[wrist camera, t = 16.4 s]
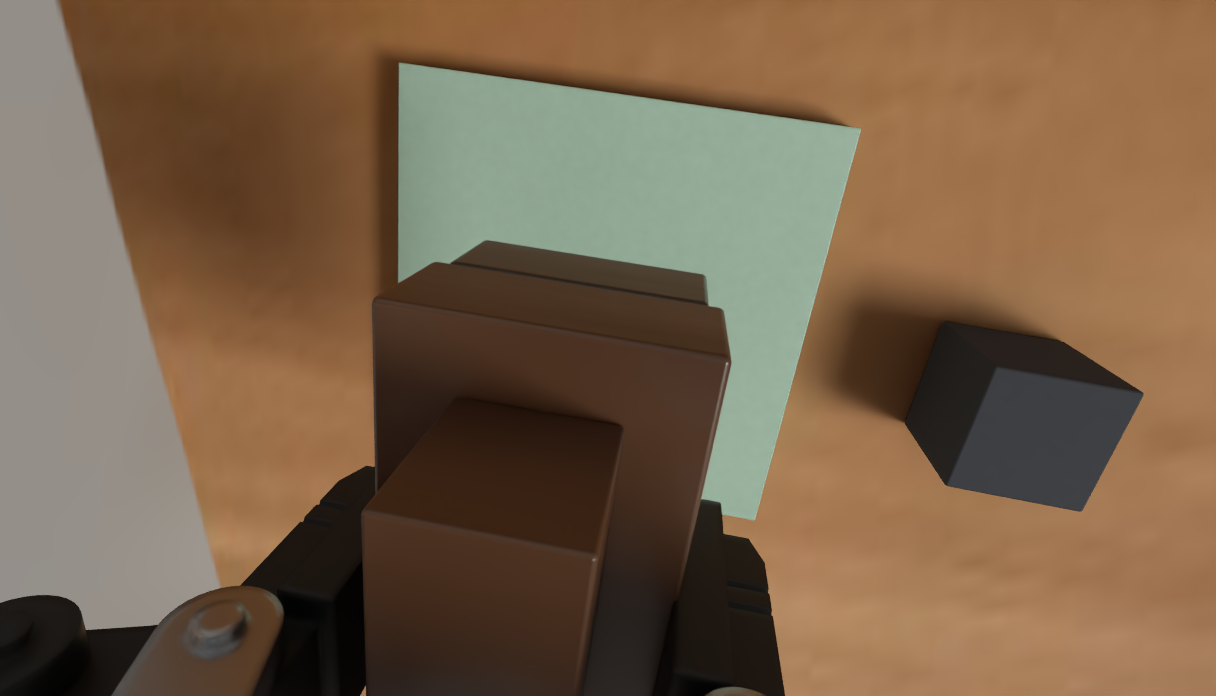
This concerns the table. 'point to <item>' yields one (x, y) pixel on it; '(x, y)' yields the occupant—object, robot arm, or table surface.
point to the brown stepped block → (535, 471)
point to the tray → (638, 214)
